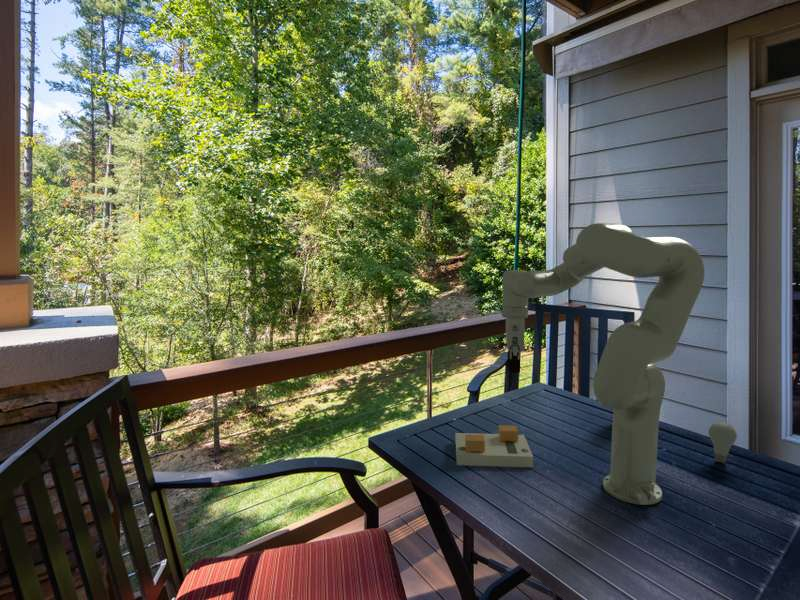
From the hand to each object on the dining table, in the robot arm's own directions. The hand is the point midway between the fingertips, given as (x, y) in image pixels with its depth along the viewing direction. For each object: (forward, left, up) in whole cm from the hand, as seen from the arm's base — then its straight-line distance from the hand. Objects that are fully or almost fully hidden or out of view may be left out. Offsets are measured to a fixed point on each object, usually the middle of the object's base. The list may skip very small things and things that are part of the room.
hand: (513, 367), depth 137 cm
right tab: (-10, +3, -18) cm, 21 cm away
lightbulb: (-14, -52, -22) cm, 58 cm away
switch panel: (-13, +8, -22) cm, 26 cm away
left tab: (-17, +13, -18) cm, 28 cm away
